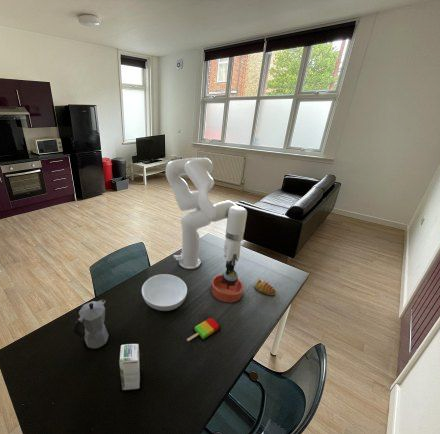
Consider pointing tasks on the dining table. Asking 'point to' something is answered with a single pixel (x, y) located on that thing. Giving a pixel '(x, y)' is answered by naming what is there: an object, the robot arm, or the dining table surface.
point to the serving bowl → (164, 292)
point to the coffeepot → (92, 324)
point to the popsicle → (205, 329)
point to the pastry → (264, 287)
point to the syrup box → (130, 366)
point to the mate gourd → (229, 277)
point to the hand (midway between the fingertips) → (229, 269)
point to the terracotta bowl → (226, 290)
